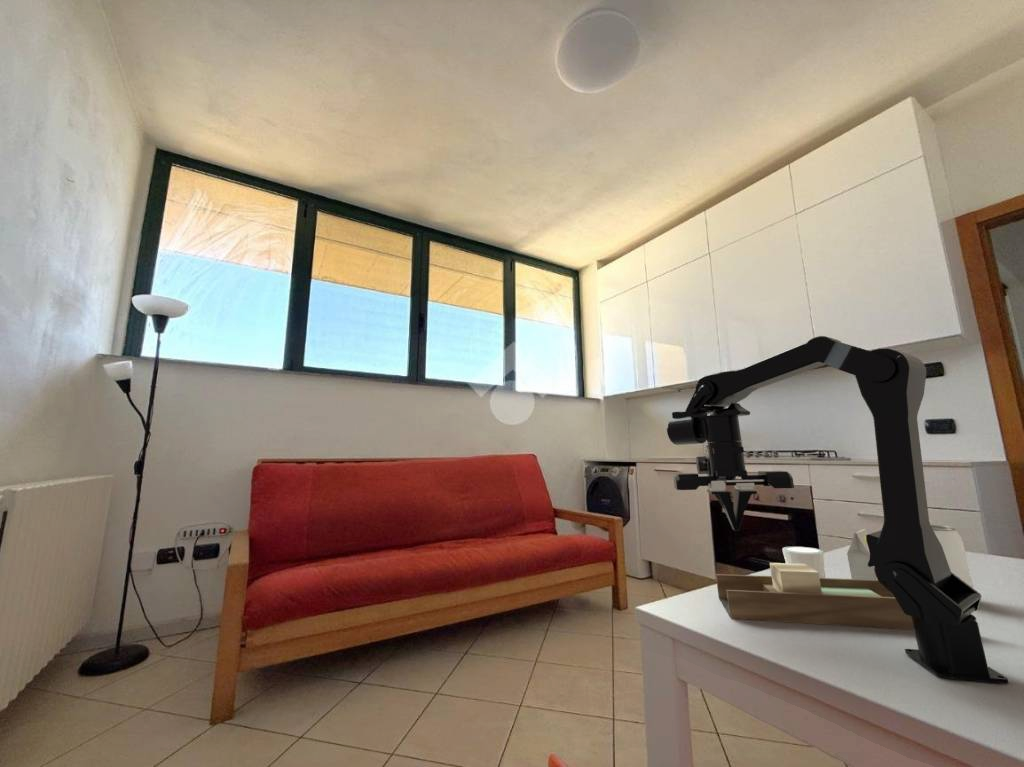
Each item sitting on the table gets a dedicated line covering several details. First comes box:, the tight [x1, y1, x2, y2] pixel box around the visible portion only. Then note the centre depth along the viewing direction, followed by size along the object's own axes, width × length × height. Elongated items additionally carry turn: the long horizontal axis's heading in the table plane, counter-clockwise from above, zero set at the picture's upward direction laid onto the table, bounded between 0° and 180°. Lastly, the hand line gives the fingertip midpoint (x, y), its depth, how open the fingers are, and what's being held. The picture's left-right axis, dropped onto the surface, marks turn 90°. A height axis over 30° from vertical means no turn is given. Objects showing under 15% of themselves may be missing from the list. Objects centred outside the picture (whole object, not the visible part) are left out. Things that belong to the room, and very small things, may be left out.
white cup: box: [781, 545, 826, 578], centre depth 81 cm, size 7×7×7 cm
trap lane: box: [715, 573, 914, 631], centre depth 67 cm, size 10×30×4 cm, turn 73°
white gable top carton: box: [846, 528, 878, 580], centre depth 82 cm, size 4×7×10 cm, turn 126°
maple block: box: [769, 562, 822, 594], centre depth 69 cm, size 6×6×4 cm
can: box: [930, 524, 975, 590], centre depth 72 cm, size 6×6×12 cm
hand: (736, 530), depth 73 cm, fingers closed
